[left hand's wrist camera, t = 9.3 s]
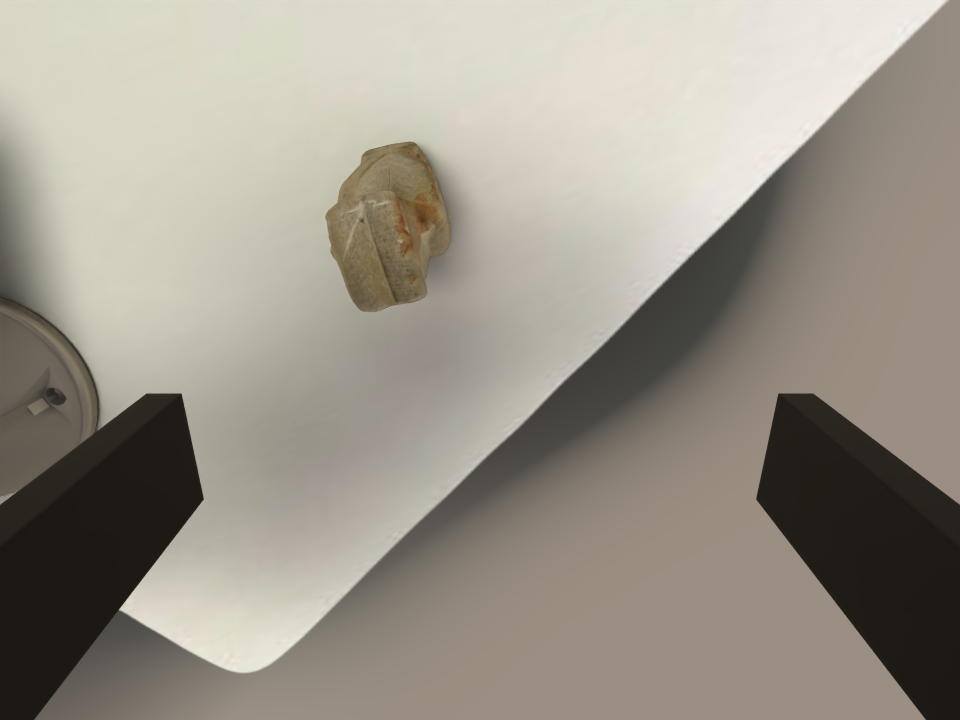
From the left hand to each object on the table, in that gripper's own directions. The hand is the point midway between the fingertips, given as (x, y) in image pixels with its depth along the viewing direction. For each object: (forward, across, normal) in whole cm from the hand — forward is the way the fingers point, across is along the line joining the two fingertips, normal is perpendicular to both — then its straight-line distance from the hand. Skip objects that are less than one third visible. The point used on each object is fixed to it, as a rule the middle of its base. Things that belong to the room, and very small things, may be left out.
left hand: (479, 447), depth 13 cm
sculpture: (+28, +5, -3) cm, 28 cm away
